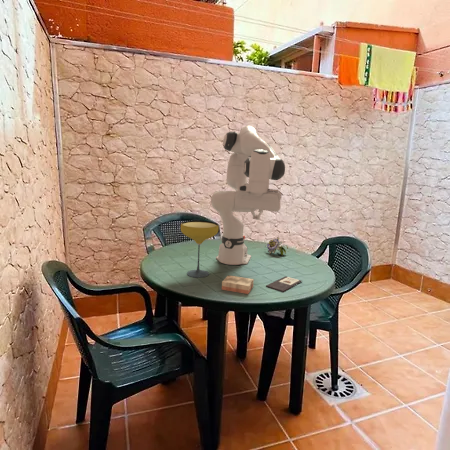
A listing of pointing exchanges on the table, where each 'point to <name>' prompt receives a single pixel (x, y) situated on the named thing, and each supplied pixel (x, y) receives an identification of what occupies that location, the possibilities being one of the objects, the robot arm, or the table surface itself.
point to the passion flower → (275, 246)
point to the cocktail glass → (199, 238)
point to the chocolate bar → (283, 284)
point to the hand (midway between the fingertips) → (256, 219)
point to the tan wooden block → (237, 284)
